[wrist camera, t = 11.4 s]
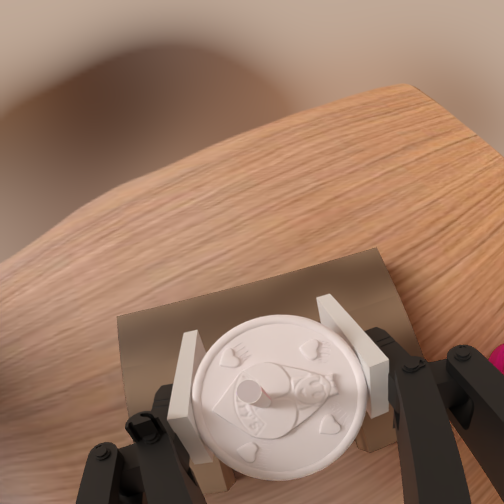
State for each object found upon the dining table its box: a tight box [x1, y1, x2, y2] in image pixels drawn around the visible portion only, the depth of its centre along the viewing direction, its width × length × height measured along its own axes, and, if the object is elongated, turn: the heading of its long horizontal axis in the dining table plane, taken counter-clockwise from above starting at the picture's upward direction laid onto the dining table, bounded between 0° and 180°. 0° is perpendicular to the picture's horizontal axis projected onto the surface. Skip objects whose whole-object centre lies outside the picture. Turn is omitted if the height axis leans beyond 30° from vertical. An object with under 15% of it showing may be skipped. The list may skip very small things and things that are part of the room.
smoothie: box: [192, 315, 367, 481], centre depth 12 cm, size 6×6×14 cm
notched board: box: [117, 247, 424, 494], centre depth 20 cm, size 14×20×4 cm
